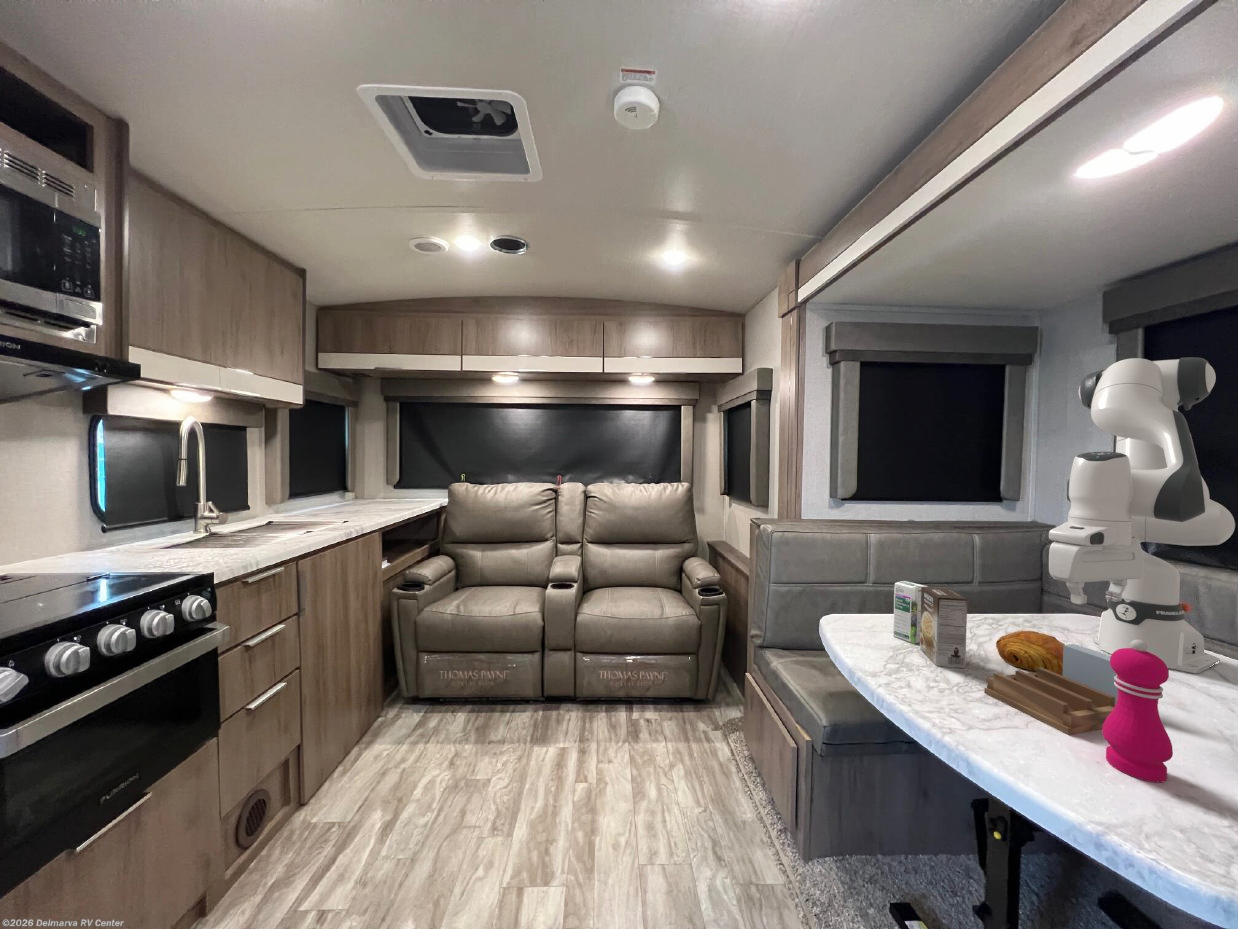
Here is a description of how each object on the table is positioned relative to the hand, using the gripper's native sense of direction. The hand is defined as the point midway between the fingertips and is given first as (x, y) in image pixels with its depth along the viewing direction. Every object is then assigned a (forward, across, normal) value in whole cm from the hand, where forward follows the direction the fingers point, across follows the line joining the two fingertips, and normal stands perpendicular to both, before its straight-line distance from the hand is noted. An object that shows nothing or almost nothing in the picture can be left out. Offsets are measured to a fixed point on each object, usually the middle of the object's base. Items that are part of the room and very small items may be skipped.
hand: (1096, 602), depth 92 cm
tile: (+19, 0, 0) cm, 19 cm away
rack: (+19, +13, +1) cm, 23 cm away
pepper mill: (+20, +20, +17) cm, 33 cm away
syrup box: (+20, +11, -33) cm, 40 cm away
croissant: (+20, -6, -14) cm, 25 cm away
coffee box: (+20, +14, -21) cm, 32 cm away
